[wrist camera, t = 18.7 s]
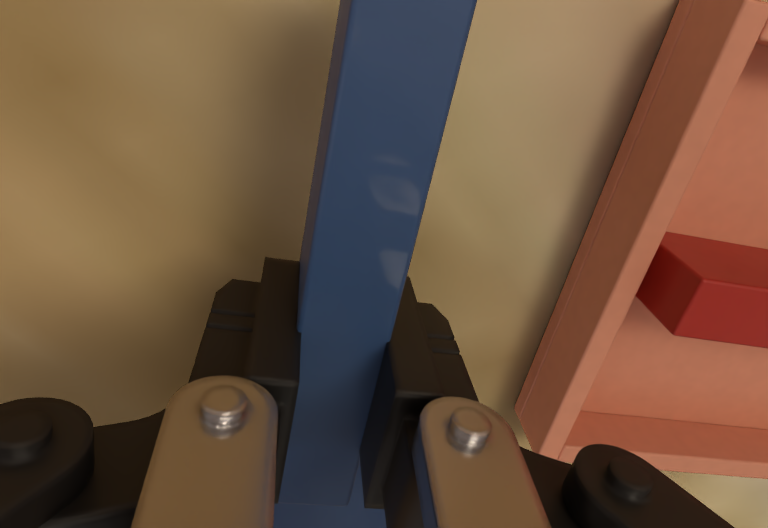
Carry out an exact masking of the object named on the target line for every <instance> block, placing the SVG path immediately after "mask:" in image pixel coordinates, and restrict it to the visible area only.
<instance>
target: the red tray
mask: <svg viewBox="0 0 768 528" xmlns="http://www.w3.org/2000/svg"><path fill="white" fill-rule="evenodd" d="M665 232H671V233H677V234H683V235H689V236H694V237H700V238H706V239H712V240H717V241H723V242H729V243H735V244H740V245H746V246H752V247H757V248H763V249H768V3H767V2H764V1H760V0H680V1H679V3H678V6H677V8H676V11H675V13H674V16H673V18H672V21H671V23H670V25H669V28H668V30H667V33H666V35H665V38H664V40H663V43H662V45H661V48H660V50H659V53H658V55H657V57H656V60H655V62H654V65H653V67H652V70H651V72H650V75H649V77H648V80H647V82H646V85H645V87H644V89H643V92H642V94H641V97H640V99H639V102H638V104H637V107H636V109H635V112H634V114H633V116H632V119H631V121H630V124H629V126H628V129H627V131H626V134H625V136H624V139H623V141H622V144H621V146H620V148H619V151H618V153H617V156H616V158H615V161H614V163H613V166H612V168H611V171H610V173H609V176H608V178H607V180H606V183H605V185H604V188H603V190H602V193H601V195H600V198H599V200H598V203H597V205H596V207H595V210H594V212H593V215H592V217H591V220H590V222H589V225H588V227H587V230H586V232H585V235H584V237H583V239H582V242H581V244H580V247H579V249H578V252H577V254H576V257H575V259H574V262H573V264H572V267H571V269H570V271H569V274H568V276H567V279H566V281H565V284H564V286H563V289H562V291H561V294H560V296H559V299H558V301H557V303H556V306H555V308H554V311H553V313H552V316H551V318H550V321H549V323H548V326H547V328H546V330H545V333H544V335H543V338H542V340H541V343H540V345H539V348H538V350H537V353H536V355H535V358H534V360H533V362H532V365H531V367H530V370H529V372H528V375H527V377H526V380H525V382H524V385H523V387H522V390H521V392H520V394H519V397H518V399H517V402H516V404H515V407H514V409H515V412H516V414H517V416H518V418H519V419H520V423H521V425H522V427H523V430H524V432H525V434H526V437H527V439H528V441H529V444H530V446H531V448H532V450H533V452H535V453H538V454H541V455H544V456H547V457H550V458H553V459H556V460H559V461H562V462H568V463H573V461H574V459H575V457H576V455H577V454H578V452H579V451H580V450H581V449H582V448H583V447H586V446H588V445H592V444H607V445H612V446H616V447H619V448H622V449H625V450H627V451H629V452H631V453H634V454H635V455H637V456H639V457H641V458H642V459H644V460H645V461H647V462H648V463H650V464H651V465H652V466H654V467H655V468H656V469H658V470H665V471H678V472H690V473H702V474H714V475H726V476H739V477H751V478H763V479H768V348H761V347H754V346H746V345H739V344H732V343H724V342H717V341H710V340H702V339H695V338H688V337H680V336H674V335H672V334H671V333H670V332H669V331H668V330H667V329H666V328H665V327H664V325H663V324H662V323H661V322H660V321H659V320H658V319H657V318H656V317H655V316H654V315H653V314H652V313H651V312H650V311H649V310H648V309H647V308H646V307H645V306H644V304H643V303H642V302H641V301H640V300H639V299H638V298H637V297H636V296H635V295H636V293H637V291H638V289H639V287H640V285H641V283H642V281H643V278H644V276H645V274H646V272H647V270H648V268H649V266H650V264H651V262H652V260H653V257H654V255H655V253H656V251H657V249H658V247H659V245H660V243H661V241H662V239H663V237H664V234H665Z"/></svg>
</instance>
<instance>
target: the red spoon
mask: <svg viewBox="0 0 768 528" xmlns="http://www.w3.org/2000/svg"><path fill="white" fill-rule="evenodd" d="M635 296H636V297H637V298H638V299H639V300H640V301H641V302H642V303H643V304H644V306H645V307H646V308H647V309H648V310H649V311H650V312H651V313H652V314H653V315H654V316H655V317H656V318H657V319H658V320H659V321H660V322H661V323H662V324H663V325H664V327H665V328H666V329H667V330H668V331H669V332H670V333H671V334H672V335H674V336H680V337H688V338H695V339H702V340H710V341H717V342H724V343H732V344H739V345H746V346H754V347H761V348H768V249H763V248H757V247H752V246H746V245H740V244H735V243H729V242H723V241H717V240H712V239H706V238H700V237H694V236H689V235H683V234H677V233H671V232H665V234H664V237H663V239H662V241H661V243H660V245H659V247H658V249H657V251H656V253H655V255H654V257H653V260H652V262H651V264H650V266H649V268H648V270H647V272H646V274H645V276H644V278H643V281H642V283H641V285H640V287H639V289H638V291H637V293H636V295H635Z"/></svg>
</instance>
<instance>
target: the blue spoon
mask: <svg viewBox="0 0 768 528" xmlns="http://www.w3.org/2000/svg"><path fill="white" fill-rule="evenodd" d="M476 3H477V0H340V6H339V12H338V18H337V25H336V31H335V37H334V44H333V50H332V57H331V63H330V69H329V76H328V82H327V88H326V95H325V101H324V108H323V114H322V120H321V127H320V133H319V140H318V146H317V152H316V159H315V165H314V171H313V178H312V184H311V191H310V197H309V203H308V210H307V216H306V222H305V229H304V235H303V242H302V248H301V254H300V261H299V262H300V274H299V293H298V313H297V330H298V332H301V354H300V380H299V388H298V394H297V399H296V405H295V411H294V416H293V422H292V428H291V433H290V439H289V444H288V450H287V456H286V461H285V467H284V473H283V478H282V484H281V489H280V495H279V501H278V504H274V523H273V528H386V518H385V510H384V509H370V508H364V498H363V487H362V476H361V465H360V454H359V450H360V446H361V442H362V438H363V434H364V430H365V427H366V423H367V419H368V415H369V411H370V407H371V403H372V399H373V395H374V391H375V387H376V383H377V379H378V375H379V371H380V367H381V363H382V360H383V356H384V352H385V348H386V344H387V342H390V340H391V336H392V332H393V328H394V324H395V320H396V316H397V313H398V309H399V305H400V301H401V297H402V293H403V289H404V285H405V281H406V277H407V273H408V269H409V265H410V262H411V258H412V254H413V250H414V246H415V242H416V238H417V234H418V230H419V226H420V222H421V218H422V214H423V211H424V207H425V203H426V199H427V195H428V191H429V187H430V183H431V179H432V175H433V171H434V167H435V163H436V160H437V156H438V152H439V148H440V144H441V140H442V136H443V132H444V128H445V124H446V120H447V116H448V112H449V109H450V105H451V101H452V97H453V93H454V89H455V85H456V81H457V77H458V73H459V69H460V65H461V61H462V57H463V54H464V50H465V46H466V42H467V38H468V34H469V30H470V26H471V22H472V18H473V14H474V10H475V6H476Z"/></svg>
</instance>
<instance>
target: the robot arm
mask: <svg viewBox="0 0 768 528" xmlns="http://www.w3.org/2000/svg"><path fill="white" fill-rule="evenodd" d="M299 274H300V262H299V261H292V260H284V259H277V258H269V257H265V262H264V267H263V273H262V279H261V283H260V282H252V281H244V280H236V279H232V280H231V281H230V282H228V283H227V284H226V285H225V286H223V287H222V288H221V289H220V290H218V291H217V292H216V295H215V298H214V301H213V304H212V308H211V313H210V314H209V317H208V321H207V324H206V328H205V330H204V334H203V337H202V340H201V343H200V347H199V350H198V353H197V356H196V360H195V363H194V366H193V369H192V373H191V376H190V379H189V382H188V384H186V385H185V386H183V387H182V388H180V389H179V390H178V391H177V392H176V393H175V394H173V396H172V397H171V399H170V400H169V402H168V404H167V407H166V409H164V410H162V411H160V412H158V413H156V414H154V415H151V416H149V417H145V418H142V419H139V420H134V421H129V422H123V423H117V424H110V425H104V426H97V427H93V423H92V421H91V418H90V416H89V415H88V414H87V413H86V412H85V411H84V410H83V409H82V408H80V407H79V406H77V405H75V404H73V403H71V402H68V401H65V400H61V399H55V398H43V397H38V398H26V399H19V400H14V401H10V402H6V403H3V404H0V528H273V523H274V504H278V501H279V495H280V489H281V484H282V478H283V473H284V467H285V461H286V456H287V450H288V444H289V439H290V433H291V428H292V422H293V416H294V411H295V405H296V399H297V394H298V388H299V380H300V354H301V332H298V330H297V313H298V293H299ZM459 352H460V351H459V348H458V346H457V343H456V341H454V335H453V333H452V330H451V327H450V325H449V322H448V320H447V319H446V318H445V317H444V316H443V315H442V314H441V313H440V312H439V311H438V310H437V309H436V308H435V307H434V306H433V305H432V304H427V303H419V302H417V300H416V297H415V294H414V291H413V287H412V284H411V281H410V278H409V277H408V276H407V277H406V281H405V285H404V289H403V293H402V297H401V301H400V305H399V309H398V313H397V316H396V320H395V324H394V328H393V332H392V336H391V340H390V342H387V344H386V348H385V352H384V356H383V360H382V363H381V367H380V371H379V375H378V379H377V383H376V387H375V391H374V395H373V399H372V403H371V407H370V411H369V415H368V419H367V423H366V427H365V430H364V434H363V438H362V442H361V446H360V450H359V454H360V465H361V476H362V487H363V498H364V508H370V509H384V510H385V518H386V528H734V527H733V526H732V525H730V524H729V523H728V522H726V521H725V520H724V519H722V518H721V517H720V516H718V515H717V514H716V513H714V512H713V511H712V510H710V509H709V508H708V507H706V506H705V505H704V504H703V503H701V502H700V501H699V500H697V499H696V498H695V497H693V496H692V495H691V494H689V493H688V492H687V491H685V490H684V489H683V488H681V487H680V486H679V485H677V484H676V483H675V482H673V481H672V480H671V479H669V478H668V477H667V476H666V475H664V474H663V473H662V472H660V471H659V470H658V469H656V468H655V467H654V466H652V465H651V464H650V463H648V462H647V461H645V460H644V459H642V458H641V457H639V456H637V455H635V454H634V453H631V452H629V451H627V450H625V449H622V448H619V447H616V446H612V445H607V444H592V445H588V446H586V447H583V448H582V449H581V450H580V451H579V452H578V454H577V455H576V457H575V459H574V461H573V463H572V465H571V464H568V463H565V462H562V461H559V460H556V459H553V458H550V457H547V456H544V455H541V454H538V453H535V452H532V451H529V450H527V449H524V448H522V447H520V446H519V444H518V442H517V439H516V437H515V434H514V432H513V430H512V429H511V427H510V426H509V424H508V423H507V422H506V421H505V420H504V419H503V418H502V417H501V416H500V415H499V414H498V413H497V412H495V411H494V410H492V409H491V408H489V407H487V406H485V405H483V404H482V403H479V401H478V398H477V396H476V393H475V390H474V388H473V385H472V383H471V380H470V377H469V375H468V372H467V369H466V367H465V364H464V362H463V359H462V356H461V355H459Z"/></svg>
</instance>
